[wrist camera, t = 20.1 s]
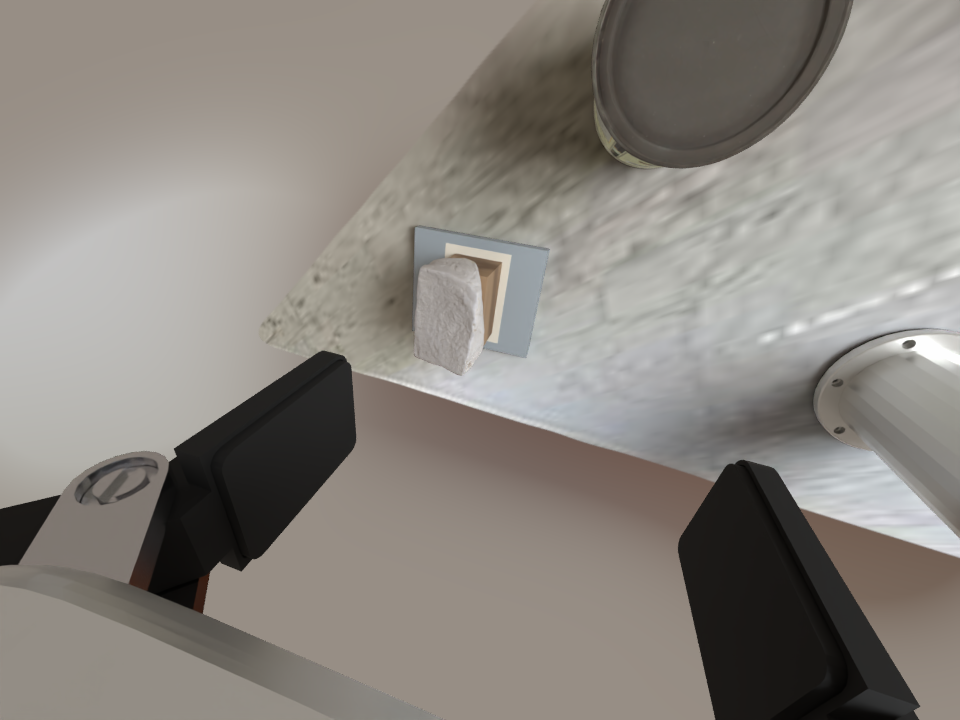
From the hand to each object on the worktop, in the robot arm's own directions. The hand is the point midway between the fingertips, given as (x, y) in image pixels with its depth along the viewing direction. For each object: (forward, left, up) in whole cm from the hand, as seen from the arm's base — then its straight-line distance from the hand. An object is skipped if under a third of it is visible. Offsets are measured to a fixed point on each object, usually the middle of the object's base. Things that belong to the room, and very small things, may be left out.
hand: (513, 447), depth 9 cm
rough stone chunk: (+9, +7, -23) cm, 26 cm away
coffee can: (-4, -12, -31) cm, 33 cm away
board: (+9, +7, -30) cm, 32 cm away
